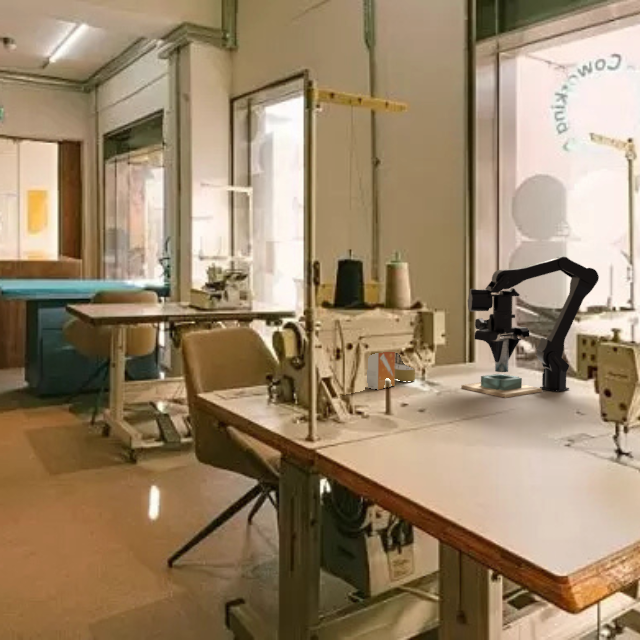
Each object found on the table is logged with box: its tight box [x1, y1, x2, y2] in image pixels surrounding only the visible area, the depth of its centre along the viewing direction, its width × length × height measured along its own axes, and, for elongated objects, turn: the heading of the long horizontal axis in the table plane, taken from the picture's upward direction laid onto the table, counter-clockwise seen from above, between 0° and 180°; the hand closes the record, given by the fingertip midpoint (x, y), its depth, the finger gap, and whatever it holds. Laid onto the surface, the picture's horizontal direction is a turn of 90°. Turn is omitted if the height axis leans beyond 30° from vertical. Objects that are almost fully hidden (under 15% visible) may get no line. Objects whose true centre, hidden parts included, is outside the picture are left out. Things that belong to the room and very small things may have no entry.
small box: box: [367, 352, 396, 391], centre depth 235 cm, size 8×6×13 cm
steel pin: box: [494, 337, 510, 373], centre depth 229 cm, size 4×4×10 cm
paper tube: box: [395, 353, 416, 383], centre depth 245 cm, size 7×7×25 cm
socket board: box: [461, 373, 543, 399], centre depth 230 cm, size 18×16×4 cm
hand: (501, 361), depth 229 cm, fingers closed on steel pin, 4 cm apart
